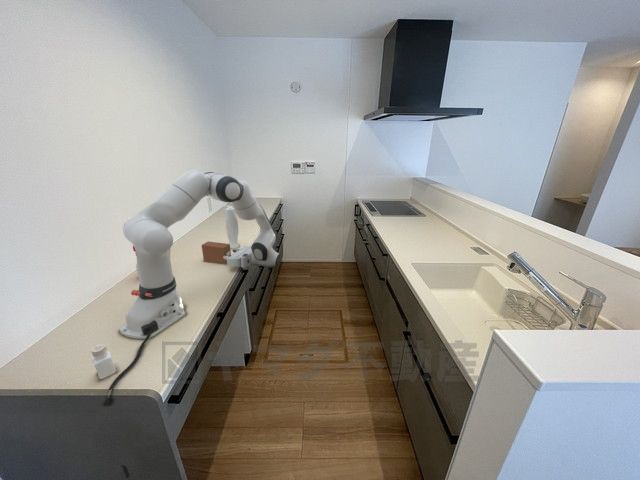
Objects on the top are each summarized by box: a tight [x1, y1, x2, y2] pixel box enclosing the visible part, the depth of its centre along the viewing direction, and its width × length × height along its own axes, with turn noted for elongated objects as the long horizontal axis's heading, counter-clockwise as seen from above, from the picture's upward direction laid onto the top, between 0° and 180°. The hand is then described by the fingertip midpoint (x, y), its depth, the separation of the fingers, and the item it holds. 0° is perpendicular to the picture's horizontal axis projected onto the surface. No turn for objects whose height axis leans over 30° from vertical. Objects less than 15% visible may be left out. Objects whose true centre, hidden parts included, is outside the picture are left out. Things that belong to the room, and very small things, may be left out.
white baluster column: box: [222, 205, 241, 250], centre depth 166 cm, size 8×8×28 cm
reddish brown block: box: [201, 240, 232, 265], centre depth 149 cm, size 6×15×10 cm, turn 77°
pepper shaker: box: [90, 343, 117, 380], centre depth 77 cm, size 4×4×10 cm
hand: (228, 253), depth 148 cm, fingers open, 8 cm apart
